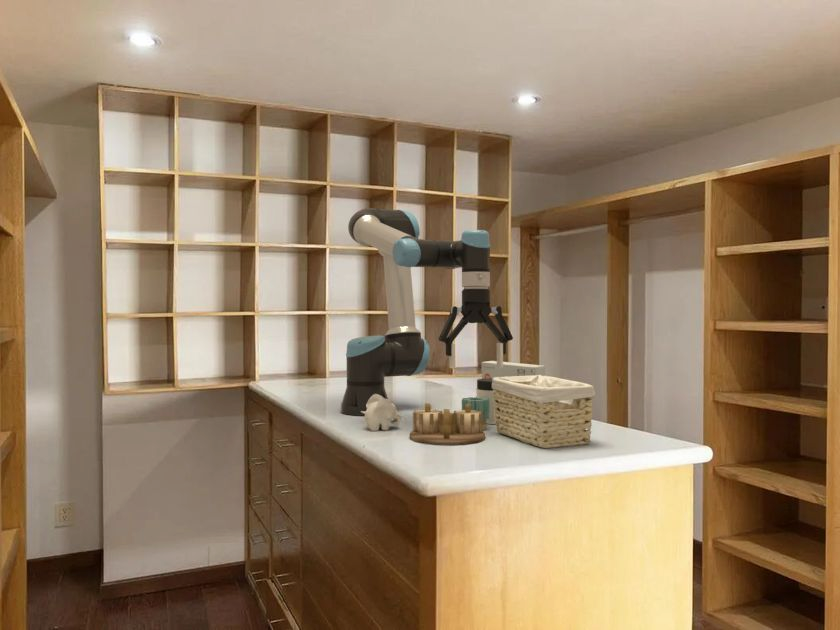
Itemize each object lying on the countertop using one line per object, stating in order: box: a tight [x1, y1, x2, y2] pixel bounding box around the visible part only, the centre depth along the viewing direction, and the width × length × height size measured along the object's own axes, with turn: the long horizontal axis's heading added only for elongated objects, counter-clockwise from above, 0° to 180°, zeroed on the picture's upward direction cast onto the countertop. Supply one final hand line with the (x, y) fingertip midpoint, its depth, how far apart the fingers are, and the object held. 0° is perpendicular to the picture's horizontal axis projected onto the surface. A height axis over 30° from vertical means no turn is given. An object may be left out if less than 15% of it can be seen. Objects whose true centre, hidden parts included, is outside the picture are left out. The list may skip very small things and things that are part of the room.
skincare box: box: [481, 360, 546, 379], centre depth 207 cm, size 21×6×16 cm, turn 43°
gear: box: [461, 396, 489, 419], centre depth 186 cm, size 8×8×5 cm
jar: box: [476, 378, 496, 425], centre depth 197 cm, size 9×8×12 cm
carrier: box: [409, 403, 486, 446], centre depth 174 cm, size 19×19×8 cm
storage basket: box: [492, 375, 596, 449], centre depth 172 cm, size 24×16×15 cm
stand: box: [483, 419, 487, 431], centre depth 186 cm, size 6×6×3 cm
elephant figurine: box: [361, 394, 407, 432], centre depth 186 cm, size 10×12×9 cm
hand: (476, 367), depth 185 cm, fingers open, 13 cm apart
